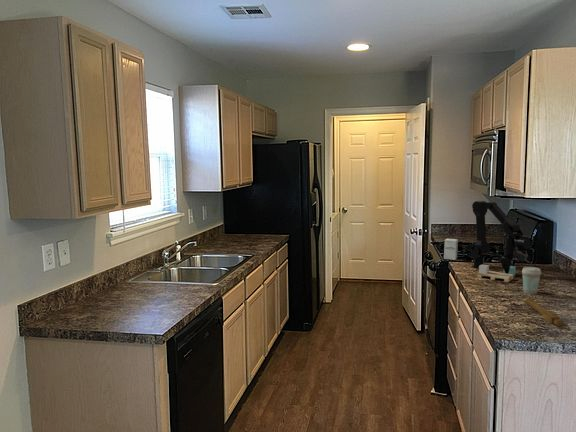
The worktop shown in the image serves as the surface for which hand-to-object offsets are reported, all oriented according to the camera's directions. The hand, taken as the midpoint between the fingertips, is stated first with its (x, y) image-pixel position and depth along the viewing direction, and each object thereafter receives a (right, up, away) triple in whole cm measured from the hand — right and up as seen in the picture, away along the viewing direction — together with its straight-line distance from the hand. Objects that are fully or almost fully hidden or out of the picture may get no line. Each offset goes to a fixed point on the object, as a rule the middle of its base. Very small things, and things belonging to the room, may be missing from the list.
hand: (509, 273), depth 265 cm
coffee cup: (-5, -6, -33) cm, 34 cm away
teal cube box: (0, -1, 0) cm, 1 cm away
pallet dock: (-11, -2, -6) cm, 12 cm away
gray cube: (-16, +1, -4) cm, 17 cm away
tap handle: (-16, -10, -65) cm, 67 cm away
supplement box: (-18, +4, +43) cm, 47 cm away
